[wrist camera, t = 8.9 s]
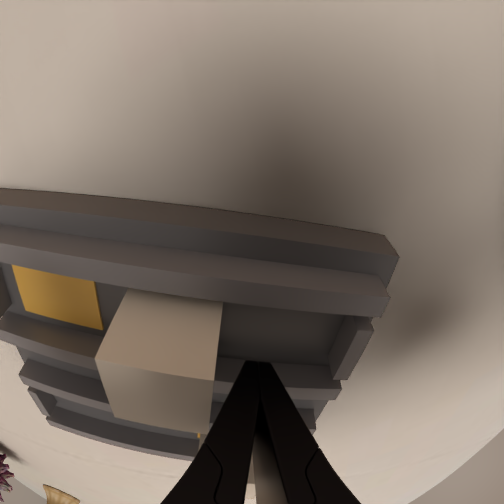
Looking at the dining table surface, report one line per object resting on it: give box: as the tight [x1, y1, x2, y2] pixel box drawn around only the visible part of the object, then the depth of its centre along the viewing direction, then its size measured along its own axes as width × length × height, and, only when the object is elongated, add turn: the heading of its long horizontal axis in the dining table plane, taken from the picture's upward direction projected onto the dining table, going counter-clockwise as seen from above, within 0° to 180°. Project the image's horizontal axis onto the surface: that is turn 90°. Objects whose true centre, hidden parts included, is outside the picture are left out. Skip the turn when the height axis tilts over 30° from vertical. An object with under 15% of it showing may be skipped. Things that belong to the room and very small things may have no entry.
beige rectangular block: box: [95, 288, 223, 434], centre depth 9 cm, size 3×3×4 cm
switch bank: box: [0, 188, 399, 461], centre depth 13 cm, size 16×15×3 cm
